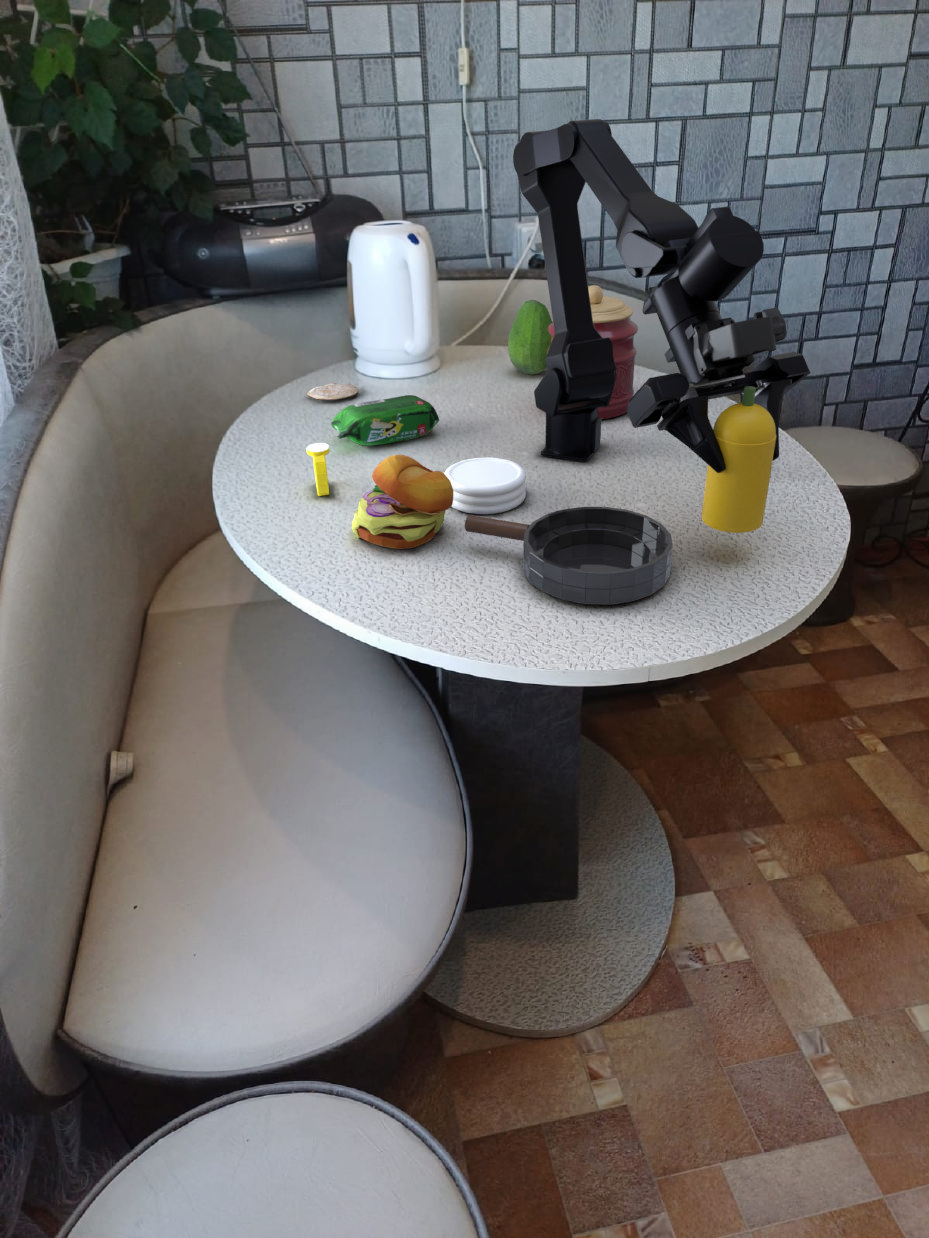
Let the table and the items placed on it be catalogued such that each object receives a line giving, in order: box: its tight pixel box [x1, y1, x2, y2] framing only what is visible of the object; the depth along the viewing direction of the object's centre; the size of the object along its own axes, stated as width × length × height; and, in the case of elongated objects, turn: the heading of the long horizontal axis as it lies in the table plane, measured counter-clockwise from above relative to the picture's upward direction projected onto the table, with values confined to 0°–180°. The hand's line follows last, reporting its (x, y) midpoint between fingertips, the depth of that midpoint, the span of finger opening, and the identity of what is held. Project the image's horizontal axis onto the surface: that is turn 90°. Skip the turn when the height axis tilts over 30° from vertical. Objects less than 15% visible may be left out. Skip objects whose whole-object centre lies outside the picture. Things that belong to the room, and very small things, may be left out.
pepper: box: [701, 386, 776, 534], centre depth 94 cm, size 6×6×14 cm
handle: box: [464, 514, 530, 542], centre depth 100 cm, size 7×2×2 cm, turn 66°
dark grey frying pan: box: [522, 506, 674, 606], centre depth 97 cm, size 15×15×4 cm
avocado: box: [507, 299, 553, 376], centre depth 153 cm, size 8×8×12 cm
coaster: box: [443, 457, 527, 515], centre depth 113 cm, size 10×10×4 cm
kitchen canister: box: [547, 284, 639, 420], centre depth 136 cm, size 13×13×18 cm
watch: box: [305, 442, 331, 497], centre depth 116 cm, size 6×3×6 cm, turn 11°
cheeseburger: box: [351, 454, 453, 550], centre depth 105 cm, size 10×11×10 cm
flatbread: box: [306, 382, 360, 401], centre depth 149 cm, size 8×8×1 cm
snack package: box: [330, 394, 440, 447], centre depth 131 cm, size 7×16×5 cm, turn 115°
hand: (748, 465), depth 93 cm, fingers closed on pepper, 6 cm apart
